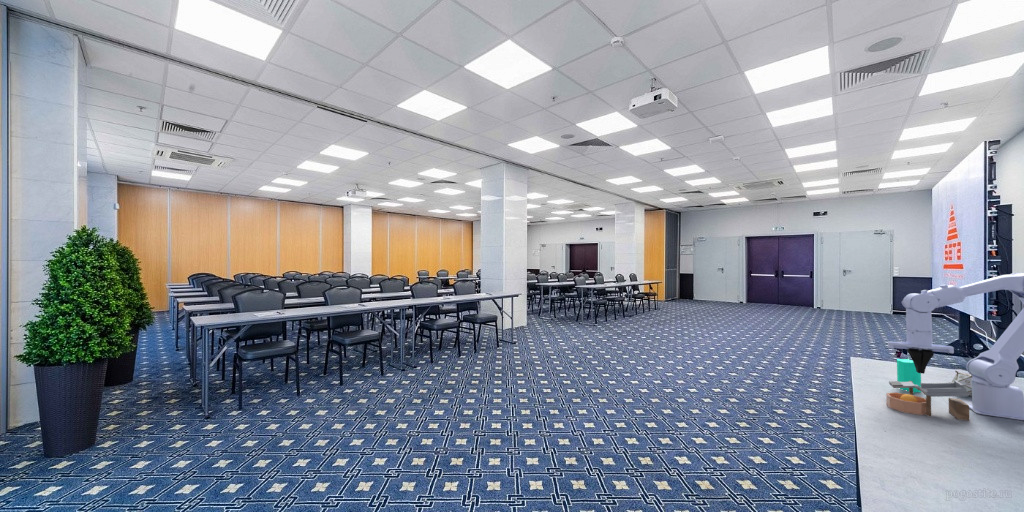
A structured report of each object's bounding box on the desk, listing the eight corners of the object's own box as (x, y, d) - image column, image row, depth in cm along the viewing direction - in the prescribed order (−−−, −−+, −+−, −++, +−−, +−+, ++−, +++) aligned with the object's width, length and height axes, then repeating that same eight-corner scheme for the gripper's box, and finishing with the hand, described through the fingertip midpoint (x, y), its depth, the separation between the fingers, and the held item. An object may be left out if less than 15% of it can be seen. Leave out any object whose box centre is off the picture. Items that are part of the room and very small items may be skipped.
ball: (896, 402, 122) (913, 407, 120) (900, 406, 119) (918, 411, 116) (899, 390, 122) (917, 395, 119) (903, 394, 118) (921, 399, 116)
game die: (972, 405, 131) (990, 382, 130) (984, 404, 124) (1002, 380, 124) (938, 387, 136) (955, 365, 136) (947, 385, 129) (965, 362, 129)
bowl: (923, 407, 120) (923, 396, 120) (934, 416, 113) (933, 405, 113) (884, 401, 125) (884, 390, 125) (892, 410, 118) (891, 399, 118)
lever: (948, 382, 122) (945, 373, 122) (968, 396, 110) (965, 385, 110) (889, 384, 130) (886, 375, 130) (902, 396, 117) (899, 386, 118)
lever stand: (947, 403, 123) (947, 385, 123) (972, 422, 108) (971, 401, 109) (909, 398, 128) (908, 380, 128) (927, 416, 113) (927, 396, 114)
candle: (926, 393, 133) (925, 358, 133) (906, 391, 134) (905, 358, 134) (912, 387, 139) (911, 354, 139) (893, 386, 140) (892, 354, 140)
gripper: (891, 330, 124) (892, 372, 123) (957, 334, 115) (958, 379, 115) (885, 327, 129) (886, 367, 129) (948, 331, 121) (949, 373, 121)
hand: (920, 372), depth 123 cm, fingers closed
